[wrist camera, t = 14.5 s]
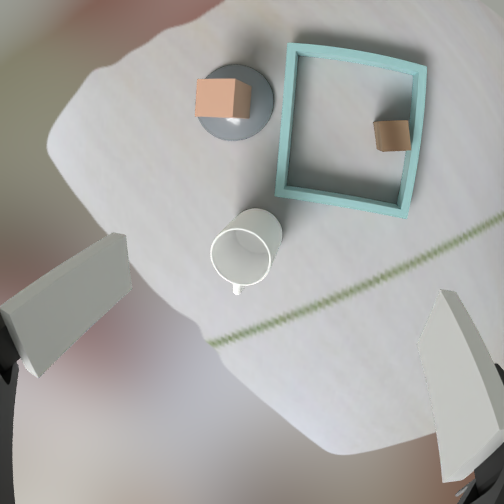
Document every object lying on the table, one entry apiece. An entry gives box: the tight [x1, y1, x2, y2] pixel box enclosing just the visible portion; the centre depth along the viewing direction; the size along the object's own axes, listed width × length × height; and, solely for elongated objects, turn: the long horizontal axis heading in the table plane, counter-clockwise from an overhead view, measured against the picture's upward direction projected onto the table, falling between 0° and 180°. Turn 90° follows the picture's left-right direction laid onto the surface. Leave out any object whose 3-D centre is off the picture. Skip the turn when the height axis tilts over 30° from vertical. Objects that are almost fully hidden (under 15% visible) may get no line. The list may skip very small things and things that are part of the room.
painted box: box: [195, 79, 252, 119], centre depth 37 cm, size 5×5×8 cm
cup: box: [210, 208, 282, 295], centre depth 45 cm, size 8×12×10 cm
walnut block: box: [373, 120, 411, 152], centre depth 35 cm, size 4×4×5 cm
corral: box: [275, 43, 427, 219], centre depth 37 cm, size 19×22×3 cm
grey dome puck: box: [198, 65, 274, 141], centre depth 41 cm, size 12×12×1 cm
